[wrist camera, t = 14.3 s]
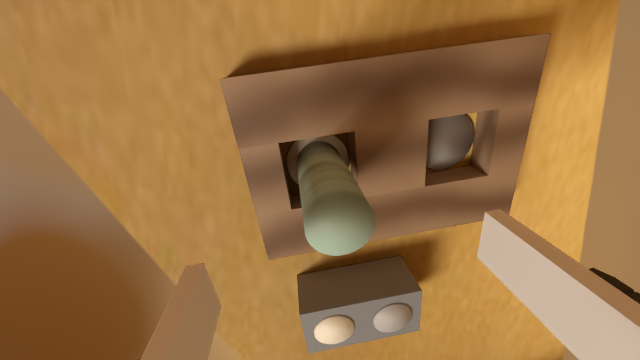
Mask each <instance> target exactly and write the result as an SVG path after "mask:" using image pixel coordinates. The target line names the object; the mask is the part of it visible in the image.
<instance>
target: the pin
mask: <svg viewBox="0 0 640 360" xmlns="http://www.w3.org/2000/svg"><path fill="white" fill-rule="evenodd" d="M296 164H297V172H298V181H299V189H300V198H301V206H302V214H303V223H304V231H305V236H306V239H307V241H308V243H309V244H310V245H311V246H312V247H313V248H314V249H315V250H317V251H318V252H320V253H323V254H326V255H332V256H340V255H346V254H349V253H352V252H354V251H356V250H358V249H360V248H361V247H362V246H364V245H365V244H366V243H367V242H368V241H369V239H370V238H371V236H372V235H373V233H374V230H375V225H376V219H375V214H374V212H373V209H372V208H371V206H370V204H369V203H368V201H367V199H366V198H365V196H364V194H363V193H362V191H361V189H360V188H359V186H358V184H357V183H356V181H355V179H354V178H353V176H352V174H351V172H350V171H349V169H348V167H347V166H346V164H345V162H344V161H343V159H342V157H341V156H340V154H339V152H338V151H337V149H336V148H335V147H334V146H333V145H331V144H329V143H327V142H323V141H316V142H312V143H309V144H307V145H306V146H305V147H304V148H302V150H301V151H300V152H299V154H298V157H297V163H296Z"/></svg>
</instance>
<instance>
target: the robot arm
mask: <svg viewBox="0 0 640 360" xmlns="http://www.w3.org/2000/svg"><path fill="white" fill-rule="evenodd" d="M477 257H478V258H479V259H480V260H481V261H482V263H483V264H484V265H485V266H486V267H487V268H488V269H489V270H490V271H491V272H492V273H493V274H494V275H495V276H496V277H497V278H498V279H499V280H500V281H501V282H502V283H503V284H504V285H505V286H506V287H507V288H508V289H509V290H510V291H511V292H512V293H513V294H514V295H515V296H516V297H517V298H518V299H519V300H520V301H521V302H522V303H523V304H524V305H525V306H526V307H527V308H528V309H529V310H530V311H531V312H532V313H533V314H534V315H535V316H536V317H537V318H538V319H539V320H540V321H541V322H542V323H543V324H544V325H545V326H546V327H547V328H548V329H549V330H550V331H551V332H552V333H553V334H554V335H555V336H556V337H557V338H558V339H559V340H560V341H561V342H562V343H563V344H564V345H565V346H566V347H567V348H568V349H569V350H570V351H571V352H572V353H573V354H574V355H575V356H576V358H578V359H579V360H640V294H639V293H638V292H634V291H633V289H632V288H630V287H628V286H627V285H625V284H624V283H622V282H621V281H619V280H618V279H616V278H615V277H612V276H610V275H608V274H606V273H604V272H601V271H599V270H597V269H595V268H590V269H587V268H586V267H584V266H583V265H581V264H580V263H579V262H577V261H576V260H574V259H573V258H571V257H570V256H568V255H567V254H565V253H564V252H562V251H561V250H559V249H558V248H556V247H555V246H554V245H552V244H551V243H549V242H548V241H546V240H545V239H543V238H542V237H540V236H539V235H537V234H536V233H534V232H533V231H531V230H530V229H529V228H527V227H526V226H524V225H523V224H521V223H520V222H518V221H517V220H515V219H514V218H512V217H511V216H509V215H508V214H507V213H505V212H504V211H502V210H501V209H499V210H493V211H488V212H485V215H484V220H483V226H482V232H481V237H480V243H479V249H478V254H477ZM220 309H221V304H220V302H219V299H218V297H217V294H216V292H215V290H214V287H213V285H212V282H211V280H210V278H209V275H208V273H207V270H206V268H205V265H204V263H200V264H195V265H189V266H186V267H185V269H184V271H183V273H182V275H181V277H180V279H179V281H178V283H177V285H176V287H175V290H174V292H173V294H172V296H171V298H170V300H169V302H168V304H167V306H166V308H165V310H164V312H163V315H162V316H161V319H160V321H159V323H158V325H157V327H156V329H155V331H154V333H153V335H152V337H151V339H150V341H149V344H148V345H147V347H146V350H145V352H144V354H143V356H142V358H141V360H207V359H208V356H209V351H210V348H211V344H212V340H213V336H214V332H215V328H216V325H217V321H218V317H219V313H220Z"/></svg>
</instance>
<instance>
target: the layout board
mask: <svg viewBox="0 0 640 360" xmlns="http://www.w3.org/2000/svg"><path fill="white" fill-rule="evenodd" d="M550 35H551V33H548V34H538V35H528V36H519V37H512V38H505V39H498V40H490V41H483V42H476V43H469V44H462V45H454V46H447V47H440V48H433V49H425V50H418V51H411V52H404V53H396V54H389V55H382V56H375V57H368V58H360V59H353V60H346V61H339V62H331V63H324V64H317V65H310V66H302V67H295V68H288V69H281V70H273V71H266V72H259V73H252V74H245V75H237V76H230V77H225V78H222V79H220V83H221V87H222V90H223V94H224V98H225V101H226V105H227V109H228V112H229V116H230V120H231V123H232V127H233V131H234V134H235V138H236V142H237V145H238V149H239V153H240V156H241V160H242V164H243V167H244V171H245V175H246V178H247V182H248V186H249V189H250V193H251V197H252V200H253V204H254V208H255V211H256V215H257V219H258V222H259V226H260V230H261V233H262V237H263V241H264V244H265V248H266V252H267V255H268V259H269V260H272V259H277V258H283V257H288V256H294V255H299V254H304V253H310V252H315V251H317V250H315V249H314V248H313V247H312V246H311V245H310V244H309V243H308V241H307V239H306V236H305V231H304V223H303V214H302V206H301V198H300V194H299V195H293V196H291V195H290V190H289V185H288V180H287V175H286V169H285V164H284V159H283V154H282V149H281V144H280V143H283V142H289V141H295V142H294V143H293V144H292V146H291V148H290V150H289V152H288V155H287V168H288V172H289V174H290V176H291V178H292V179H293V180H294V181H295V182H296V183H297V184H298V185H299V181H298V172H297V164H296V163H297V157H298V154H299V152H300V151H301V150H302V148H304V147H305V146H306V145H307V144H309V143H312V142H316V141H323V142H327V143H329V144H331V145H333V146H334V147H335V148H336V149H337V151H338V152H339V154H340V156H341V157H342V159H343V161H344V162H345V164H346V166H347V167H348V162H349V157H348V152H347V149H346V147H345V146H344V144H343V143H342V141H341V140H340V139H339V138H337V137H336V136H334V134H341V133H347V132H348V135H349V148H350V161H351V174H352V176H353V178H354V179H355V181H356V183H357V184H358V186H359V188H360V189H361V191H362V193H363V194H364V196H365V198H366V199H367V201H368V203H369V204H370V206H371V208H372V209H373V212H374V214H375V219H376V225H375V230H374V233H373V235H372V236H371V238H370V239H369V241H368V242H370V241H375V240H380V239H386V238H391V237H397V236H402V235H408V234H413V233H418V232H424V231H429V230H435V229H440V228H446V227H451V226H456V225H462V224H467V223H473V222H478V221H483V220H484V215H485V212H488V211H493V210H499V209H501V210H502V211H504V212H505V213H507V214H508V215H509V212H510V208H511V203H512V199H513V195H514V191H515V186H516V182H517V178H518V173H519V169H520V165H521V160H522V156H523V152H524V147H525V143H526V139H527V134H528V130H529V126H530V122H531V117H532V113H533V109H534V104H535V100H536V96H537V91H538V87H539V83H540V78H541V74H542V70H543V65H544V61H545V57H546V52H547V48H548V44H549V40H550ZM475 112H478V114H477V121H476V129H475V136H474V128H473V124H472V122H471V120H470V119H469V118H468V117H467V116H466V115H464V114H469V113H475ZM473 139H474V143H473ZM472 143H473V150H472V157H471V164H470V166H464V167H459V168H453V169H447V170H441V169H446V168H449V167H451V166H454V165H455V164H457V163H458V162H459V161H461V160H462V159H463V158H464V157H465V155H466V154H467V153H468V151H469V150H470V148H471V145H472ZM426 167H428V168H430V169H435V170H441V171H435V172H429V173H426Z"/></svg>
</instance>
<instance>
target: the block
mask: <svg viewBox="0 0 640 360" xmlns="http://www.w3.org/2000/svg"><path fill="white" fill-rule="evenodd" d="M297 281H298V297H299V313H300V319H301V323H302V327H303V332H304V336H305V340H306V345H307V349H308V353H314V352H319V351H323V350H328V349H333V348H338V347H343V346H347V345H352V344H357V343H362V342H367V341H371V340H376V339H381V338H386V337H390V336H395V335H400V334H405V333H410V332H414V331H419V328H420V313H421V299H422V290H421V288H420V286H419V285H418V283H417V281H416V280H415V278H414V276H413V275H412V273H411V271H410V270H409V268H408V266H407V265H406V263H405V261H404V260H403V258H402V256H396V257H391V258H386V259H380V260H375V261H370V262H365V263H359V264H354V265H349V266H343V267H338V268H333V269H328V270H322V271H317V272H312V273H306V274H301V275H297Z"/></svg>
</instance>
